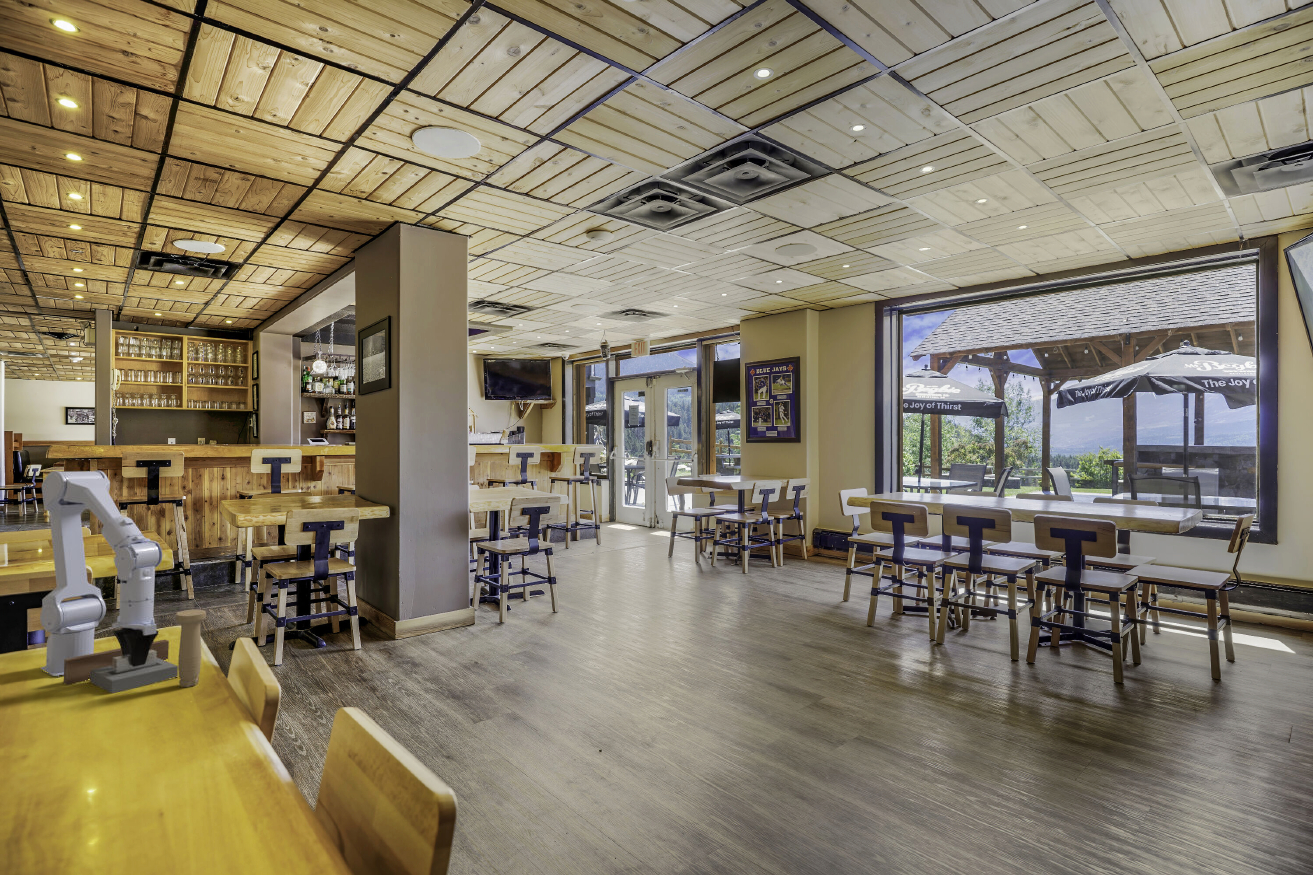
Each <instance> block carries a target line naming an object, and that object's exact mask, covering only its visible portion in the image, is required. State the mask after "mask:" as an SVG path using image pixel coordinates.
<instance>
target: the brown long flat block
mask: <svg viewBox="0 0 1313 875" xmlns="http://www.w3.org/2000/svg"><path fill="white" fill-rule="evenodd" d="M169 645H170V640H167V639H161V640H154V641H153V643H152V645H151V647H150V650H155V651H157V655H156V657H157V658H159V659H162V660H166V659H168V660H169V648H170V647H169ZM118 656H123V655H122V650H121V647H120V648H114V649H110V650H105V651H101V652H94V653H93V654H88V655H83V656H78V657H73V658H68V659H64V675H63V684H64V683H65V684H64V685H66V686H69V684H70V685H73V684H72V683H74V684H77V683H76V682H79V683H81V681H83V682H86V681H85V680H88V679H90V673H91V670H94V669H99V668H103V667H108V666H112V662H113V657H118ZM88 681H89V680H88Z"/></svg>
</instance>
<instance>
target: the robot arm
mask: <svg viewBox="0 0 1313 875" xmlns="http://www.w3.org/2000/svg"><path fill="white" fill-rule="evenodd" d="M110 487H111V481H110V480H109V478H108V476H107V474H106V473H105V472H104V471H102V470H93V471H92V470H91V471H90V470H89V471H86V470H85V471H81V470H80V471H58V470H54V471H53V470H52V471H50V472H49V473H48V474H47V476H46V477H45V478H44V480H43V482H42V483H41V492H42V500H43V501H42V502H43V508H44V510H45V511H47V512H49V513H48V514H49V524H50V532H51V542H52V543H51V544H52V552H53V562H54V563H53V564H54V571H55V583H56V587H55V588H54V589H53V590H52V591H51V592H49V593H48V594H47V595H45V597H43V598H42V599H41V600H42V601H41V602H42V606H41V612H40V617H39V620H40V624H41V626H42V627H43V629H45V631H46V632H47V633H50V634H49V635H48V638H47V639H46V640H47V641H46V663H45V666H41V667H40V668H41V669H42V670H44V671H46V672H48V673H49V674H48V673H47V674H48V675H50V676H52V677H53V676H58V677H60V676H59V675H63V676H64V659H68V658H73V657H78V656H83V655H88V654H93V653H95V652H94V650H95V646H94V645H95V629H96V627H99V623H100V622H102V620H103V619H104V617H105V615H106V611H107V607H106V606H107V605H106V602H105V600H104V599H103V596H102V590H101V588H100V587H97V586H95V585H93V584H91V583H89V581H88V572H87V565H86V563H87V562H86V556H85V555H86V554H85V547H84V546H85V544H84V537H83V536H84V534H83V527H82V518H81V515H82V513H83V512H84V511H85V510H86V509H89V511H90V512H91V513H92V514H93V515H94V516H95V517H96V518H97V520H98V521H99V522H100V523H101V524H102V525H103V526H102V527H101V530H100V532H101V535H102V536H103V538H104V539H105V540H106V542H107V543H108V545H109V547H111V549H112V550H113V552H114V553H115V556H114V558H113V563H114V565H115V566H114V567H115V568H116V569H117V579H118V580H120V589H119V590H120V594H119V616H116V617H117V618H116V619H117V620H116V622H113V623H111V627H112V628H121V629H117V630H114V631H113V635H114V636H115V637H116V639H117V641H118V643H119V646H120V648H121V650H122V655H128V654H130V659H131V664H132V666H133V667H135V666H140V665H144V664H145V663H146V660H147V657H148V653H149V650H150V647H151V645H152V643H153V642H155V640H156V638H157V636H158V635H159V630H157V624H156V623H155V618H154V611H155V610H154V609H155V608H154V606H155V576H156V568H157V567H159V565H161V562H162V560H163V550H162V546H160V543H159V542H158V541H156V540H151V539H150V538H147V537H145V535H144V534H143V533H142V532H141V530H140V529H139V527H138V526H137V525H136V523H135V522H134V520H133V519H132V518H130V517H127V516H122V514H121V512H120V510H119V509H118V507H117V506H116V503H115V501H114V500H113V498H112V496H111V495H110ZM77 597H78V598H77ZM79 597H80V598H79ZM71 598H72V599H71ZM73 598H74V599H73ZM65 599H70V600H65ZM41 669H40V670H41ZM42 670H41V671H42ZM44 671H43V672H44ZM46 672H45V673H46Z"/></svg>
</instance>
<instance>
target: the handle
mask: <svg viewBox="0 0 1313 875" xmlns="http://www.w3.org/2000/svg"><path fill="white" fill-rule="evenodd" d="M175 615H176V616H175V620H176V622H177V623H178V624H180V626H181V627H180V628H181V629H180V640H179V651H178V656H177V657H178V662H177V663H178V664H177V666H178V678H179V679H180V680H179V681H178V682H179V687H180V688H189V687H194V686H196V685H197V684H199V680H200V672H201V668H202V666H201V665H202V664H201V663H202V641H201V640H202V638H201V622H202V621H204V620H206V618H207V611H206V610H204V609H187V610H181V611H178V612H176V614H175Z"/></svg>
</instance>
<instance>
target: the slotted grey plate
mask: <svg viewBox="0 0 1313 875" xmlns="http://www.w3.org/2000/svg"><path fill="white" fill-rule="evenodd" d="M176 676H177V677H178V676H179V670H178V664H177V665H176V664H173V663H171V662H169V661H168V662H167V661H164V660H162V659H159V658H157V657H156V666H152V667H148V668H143V669H139V670H134V671H130V672H125V673H121V674H116V675H112V666H108V667H103V668H99V669H94V670H91V673H90V680H89V682H90V683H91V682H92V683H91V684H93V685H95V686H97V687H98V688H100V687H101V689H102V690H104V689H105V690H104V691H106V692H108V693H110V694H115V693H119V692H123V691H127V690H132V689H135V688H140V686H141V687H144V686H143V685H145V686H149V685H152V684H151V683H153V684H156V683H155V682H157V683H160V682H159V681H162V680H166V679H169V678H173V677H176ZM166 681H167V680H166ZM162 682H163V681H162ZM148 684H149V685H148Z"/></svg>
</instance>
